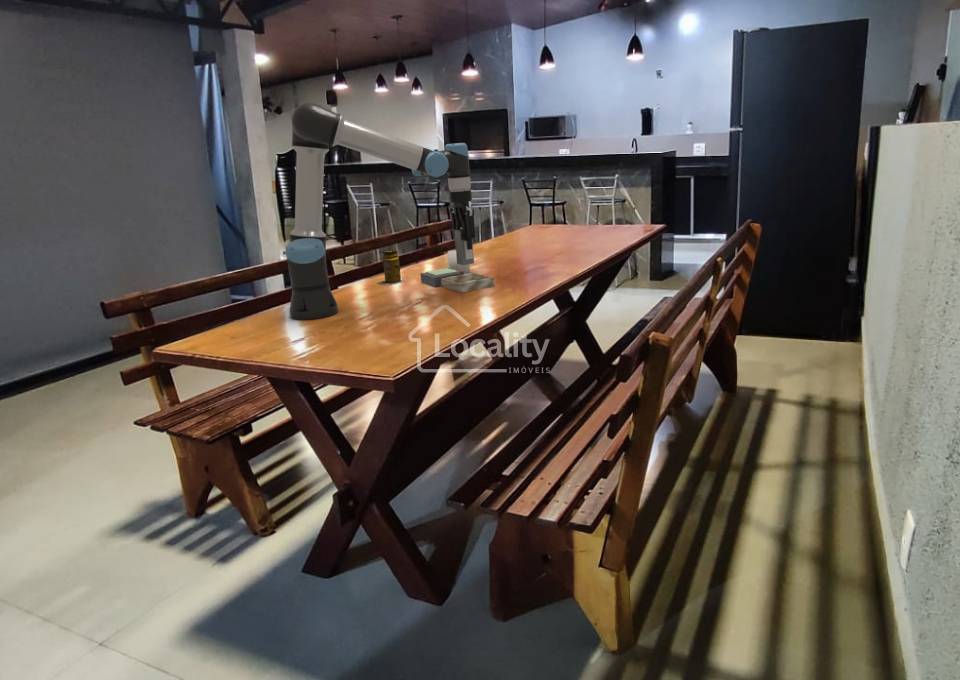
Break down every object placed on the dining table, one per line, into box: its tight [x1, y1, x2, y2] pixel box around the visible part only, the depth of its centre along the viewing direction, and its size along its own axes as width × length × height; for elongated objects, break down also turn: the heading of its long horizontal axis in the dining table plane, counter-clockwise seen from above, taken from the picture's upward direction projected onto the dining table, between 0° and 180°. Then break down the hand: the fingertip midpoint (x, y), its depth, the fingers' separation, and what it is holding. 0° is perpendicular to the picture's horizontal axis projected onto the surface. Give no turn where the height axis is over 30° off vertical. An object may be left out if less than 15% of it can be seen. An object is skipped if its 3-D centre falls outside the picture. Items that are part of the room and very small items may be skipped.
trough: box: [440, 272, 496, 294], centre depth 238 cm, size 14×14×3 cm
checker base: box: [420, 265, 464, 288], centre depth 248 cm, size 12×12×4 cm
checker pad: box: [425, 267, 458, 277], centre depth 248 cm, size 9×9×2 cm
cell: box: [454, 227, 475, 265], centre depth 234 cm, size 4×4×13 cm
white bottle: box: [447, 249, 471, 274], centre depth 260 cm, size 8×8×13 cm
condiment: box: [377, 249, 406, 286], centre depth 254 cm, size 7×8×12 cm
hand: (465, 257), depth 236 cm, fingers closed on cell, 4 cm apart
